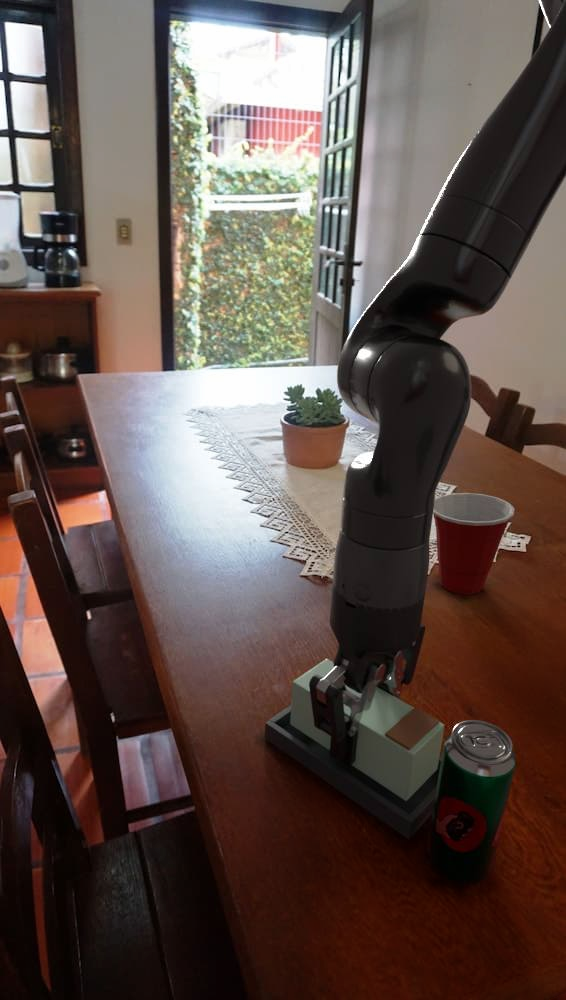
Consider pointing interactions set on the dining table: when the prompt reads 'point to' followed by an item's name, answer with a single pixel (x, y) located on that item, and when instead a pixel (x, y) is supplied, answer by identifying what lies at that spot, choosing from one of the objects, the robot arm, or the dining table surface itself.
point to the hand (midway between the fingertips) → (361, 742)
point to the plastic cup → (468, 538)
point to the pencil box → (379, 736)
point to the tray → (354, 778)
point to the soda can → (470, 801)
